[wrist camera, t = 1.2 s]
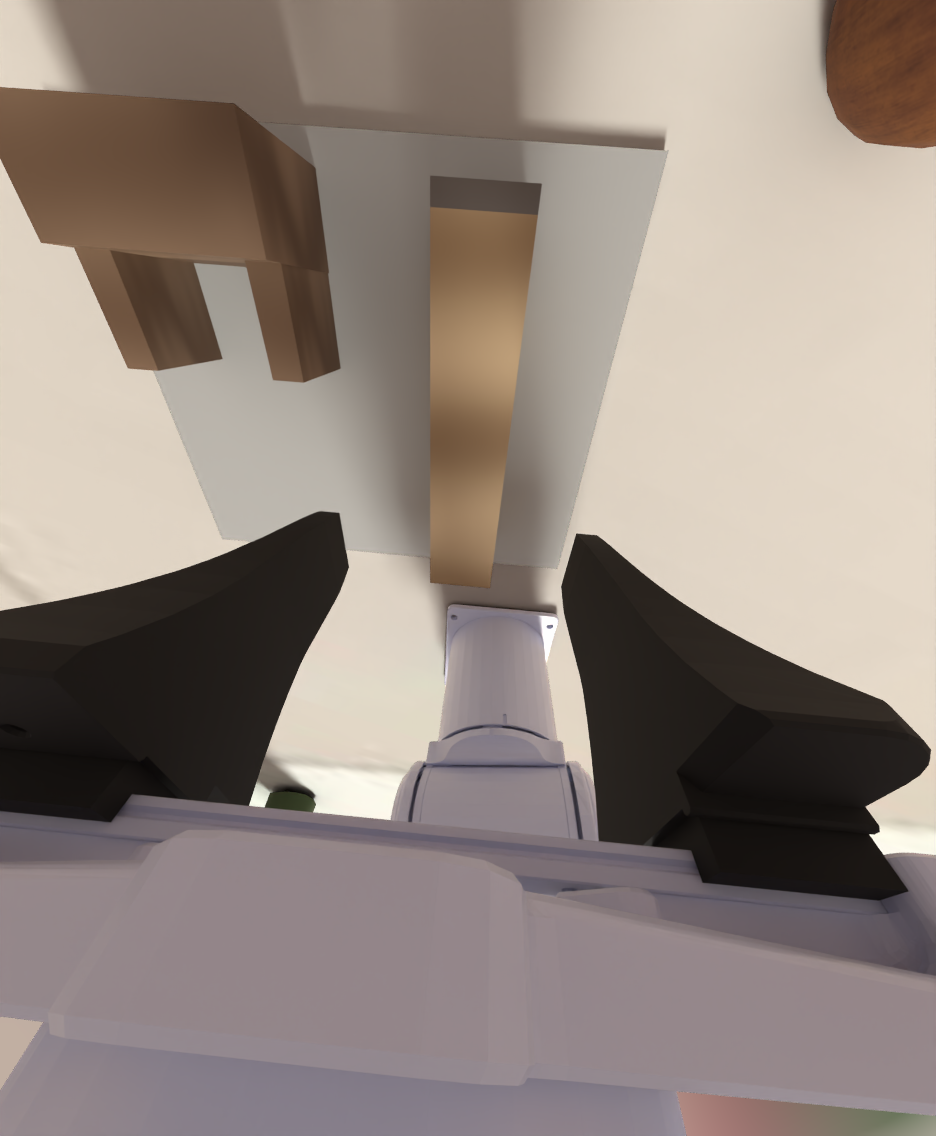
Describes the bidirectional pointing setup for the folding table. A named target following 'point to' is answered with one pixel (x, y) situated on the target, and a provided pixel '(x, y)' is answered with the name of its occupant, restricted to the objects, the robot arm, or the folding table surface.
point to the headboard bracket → (176, 220)
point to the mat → (416, 346)
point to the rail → (474, 361)
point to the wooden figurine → (884, 70)
